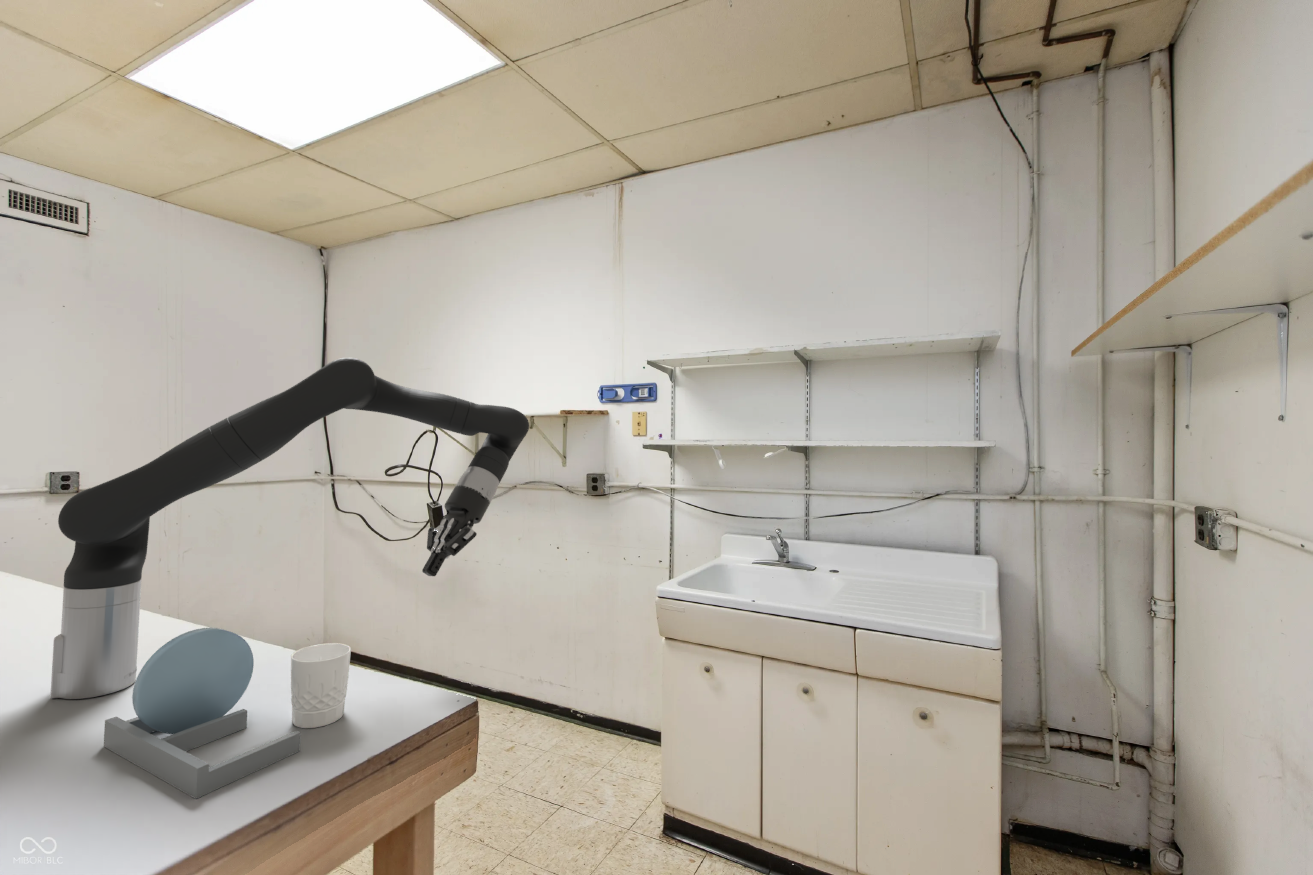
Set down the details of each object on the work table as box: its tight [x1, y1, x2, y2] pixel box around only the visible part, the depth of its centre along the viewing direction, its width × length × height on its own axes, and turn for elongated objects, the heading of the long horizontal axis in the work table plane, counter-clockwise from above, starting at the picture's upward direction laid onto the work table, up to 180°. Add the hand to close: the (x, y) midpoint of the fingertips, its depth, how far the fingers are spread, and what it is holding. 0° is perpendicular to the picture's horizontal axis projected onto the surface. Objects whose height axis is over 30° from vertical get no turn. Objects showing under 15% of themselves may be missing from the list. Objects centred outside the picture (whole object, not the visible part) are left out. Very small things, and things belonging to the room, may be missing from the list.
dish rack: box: [103, 627, 302, 799], centre depth 78 cm, size 15×23×14 cm, turn 64°
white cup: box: [290, 642, 352, 729], centre depth 86 cm, size 8×8×10 cm
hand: (428, 574), depth 104 cm, fingers closed
